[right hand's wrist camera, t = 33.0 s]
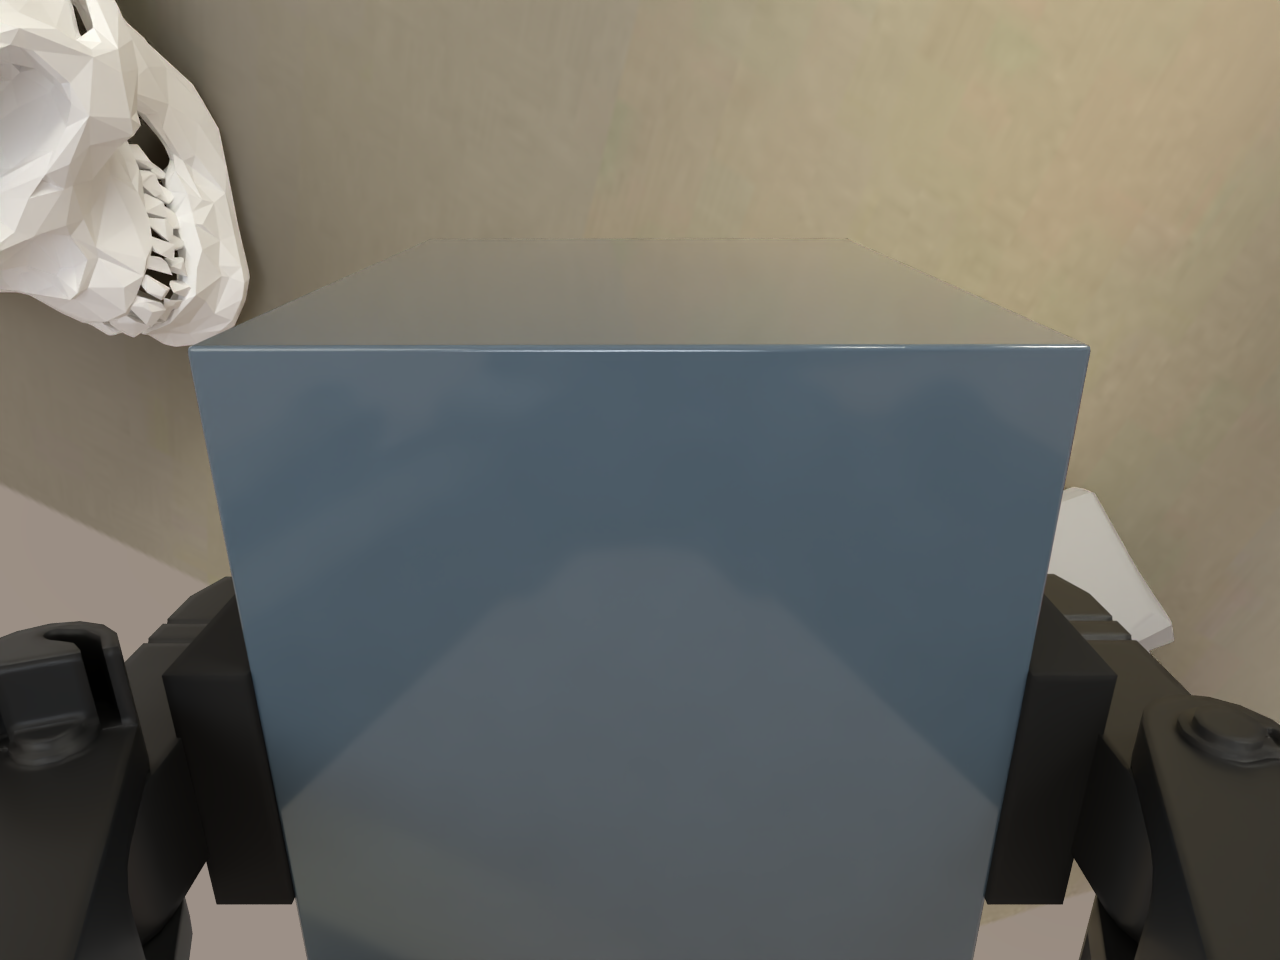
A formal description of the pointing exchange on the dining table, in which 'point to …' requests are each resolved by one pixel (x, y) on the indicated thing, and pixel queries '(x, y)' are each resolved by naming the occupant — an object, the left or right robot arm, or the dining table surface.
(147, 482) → the dining table surface
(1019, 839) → the right robot arm
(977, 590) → the blue-grey cube
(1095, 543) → the clamp
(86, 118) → the skull
